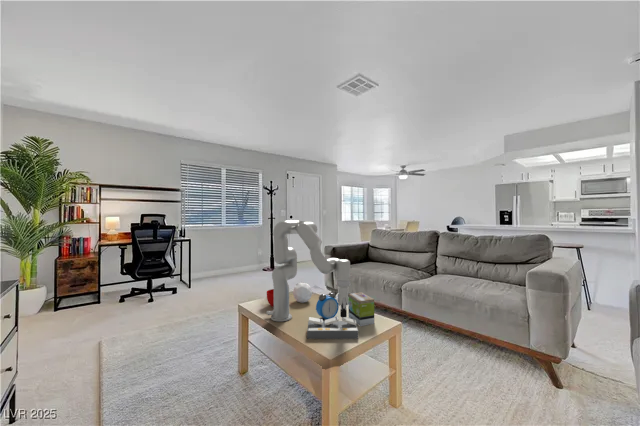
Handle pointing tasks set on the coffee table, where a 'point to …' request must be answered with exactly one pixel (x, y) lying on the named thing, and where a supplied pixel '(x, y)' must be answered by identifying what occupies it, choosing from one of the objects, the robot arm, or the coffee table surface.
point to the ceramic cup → (270, 297)
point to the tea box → (361, 308)
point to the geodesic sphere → (302, 292)
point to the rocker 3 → (349, 320)
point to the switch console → (332, 331)
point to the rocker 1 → (315, 320)
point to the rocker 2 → (331, 320)
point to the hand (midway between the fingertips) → (343, 316)
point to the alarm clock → (327, 306)
